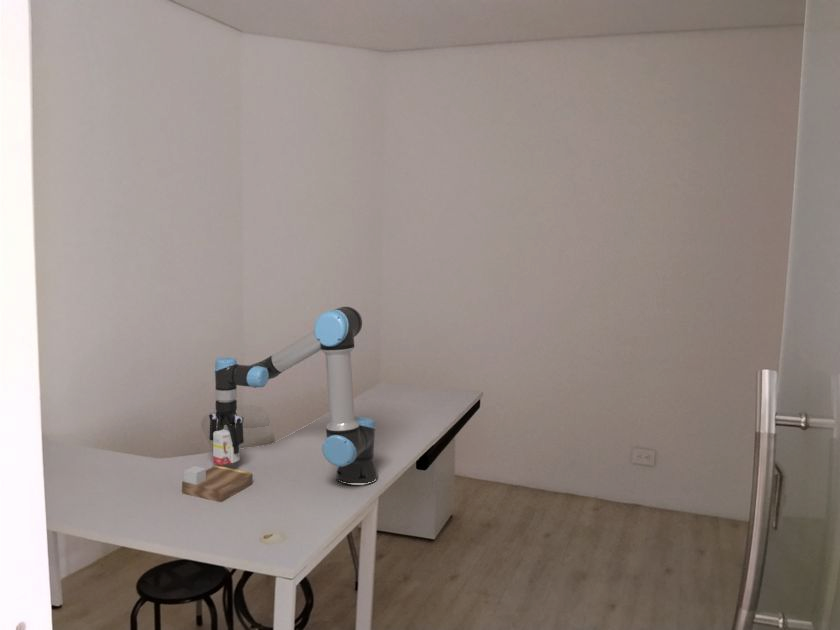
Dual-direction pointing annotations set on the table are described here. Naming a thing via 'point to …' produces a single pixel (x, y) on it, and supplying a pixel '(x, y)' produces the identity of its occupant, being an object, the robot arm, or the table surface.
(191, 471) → the light grey block
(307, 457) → the table surface
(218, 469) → the dock
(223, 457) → the ink box
